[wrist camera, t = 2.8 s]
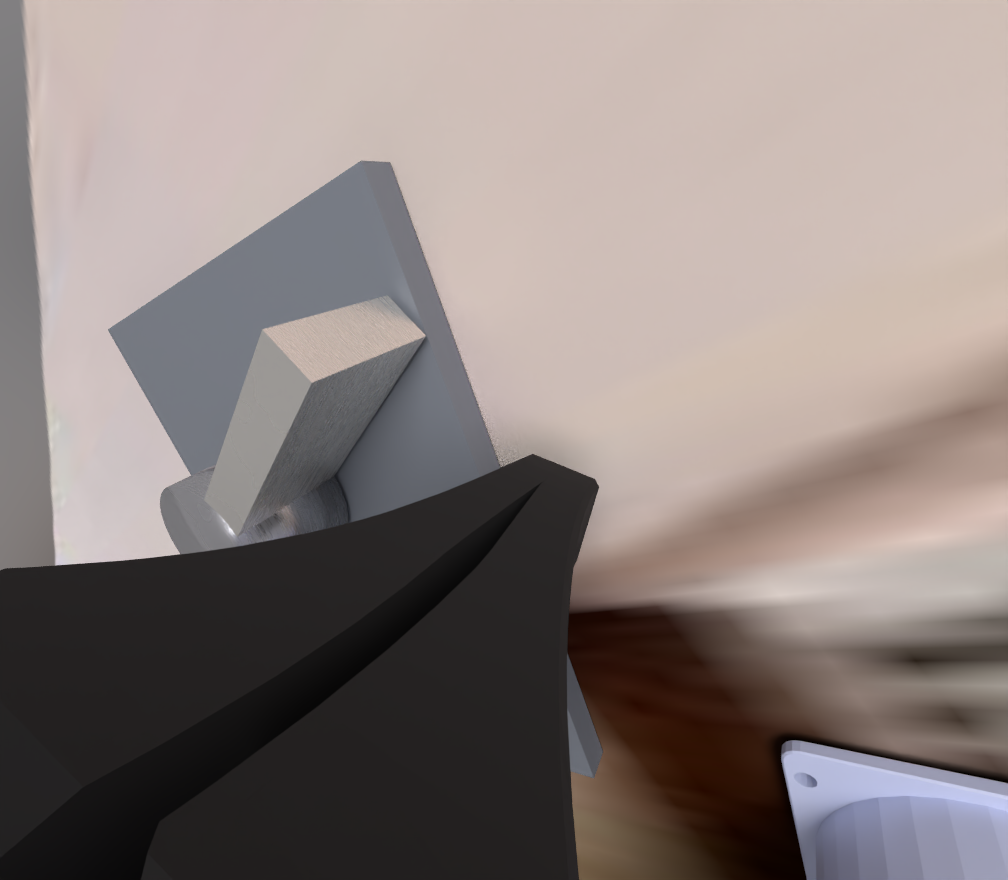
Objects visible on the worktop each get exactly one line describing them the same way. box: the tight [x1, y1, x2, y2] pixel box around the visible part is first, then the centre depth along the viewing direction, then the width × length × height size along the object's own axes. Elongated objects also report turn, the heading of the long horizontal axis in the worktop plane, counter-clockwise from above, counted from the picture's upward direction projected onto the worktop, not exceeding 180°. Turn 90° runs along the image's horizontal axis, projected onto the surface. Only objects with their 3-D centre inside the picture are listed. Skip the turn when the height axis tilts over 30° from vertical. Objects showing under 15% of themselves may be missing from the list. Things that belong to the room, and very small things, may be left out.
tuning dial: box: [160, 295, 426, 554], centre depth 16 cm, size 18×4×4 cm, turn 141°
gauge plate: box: [108, 161, 603, 778], centre depth 19 cm, size 20×16×1 cm
